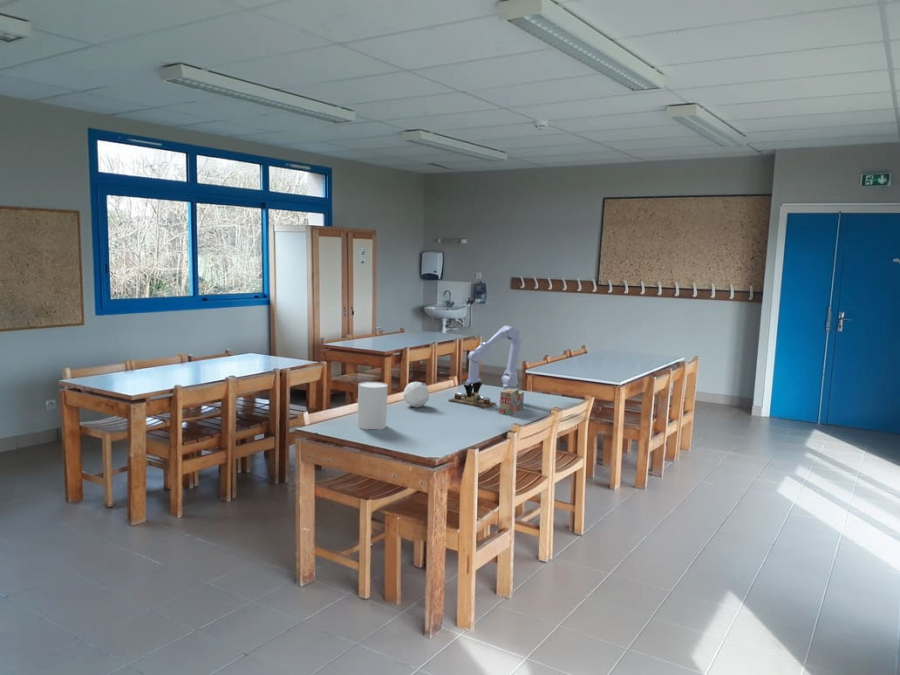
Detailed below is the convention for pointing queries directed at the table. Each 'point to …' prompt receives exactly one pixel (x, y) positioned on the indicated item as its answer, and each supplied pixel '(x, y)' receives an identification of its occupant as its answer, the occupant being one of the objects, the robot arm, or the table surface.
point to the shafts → (476, 397)
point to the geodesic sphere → (416, 394)
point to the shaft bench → (477, 403)
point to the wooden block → (472, 397)
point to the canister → (372, 405)
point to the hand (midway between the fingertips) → (472, 396)
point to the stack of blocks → (511, 400)
